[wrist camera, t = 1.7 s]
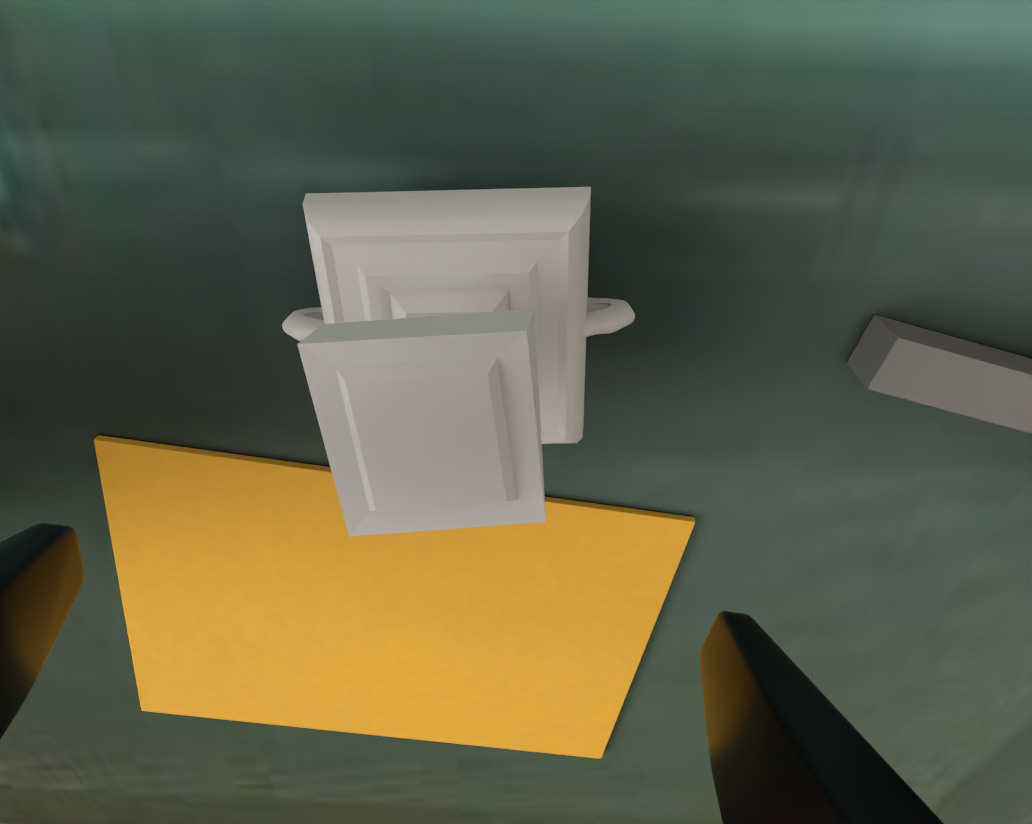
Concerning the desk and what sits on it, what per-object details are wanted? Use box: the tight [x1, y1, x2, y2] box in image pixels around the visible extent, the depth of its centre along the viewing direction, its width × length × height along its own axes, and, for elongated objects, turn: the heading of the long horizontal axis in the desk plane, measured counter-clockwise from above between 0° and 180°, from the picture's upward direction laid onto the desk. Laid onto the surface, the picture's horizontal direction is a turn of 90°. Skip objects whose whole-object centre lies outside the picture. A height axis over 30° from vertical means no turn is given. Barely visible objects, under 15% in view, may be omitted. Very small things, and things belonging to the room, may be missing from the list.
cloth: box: [94, 435, 695, 759], centre depth 27 cm, size 20×14×1 cm
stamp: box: [282, 187, 635, 537], centre depth 16 cm, size 9×7×8 cm
